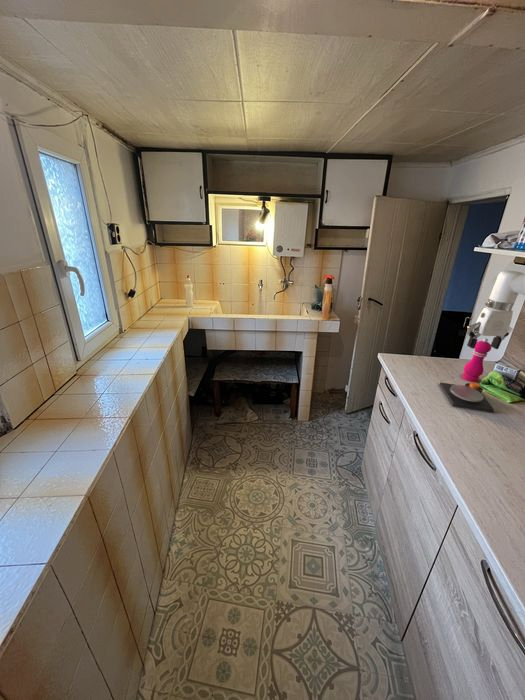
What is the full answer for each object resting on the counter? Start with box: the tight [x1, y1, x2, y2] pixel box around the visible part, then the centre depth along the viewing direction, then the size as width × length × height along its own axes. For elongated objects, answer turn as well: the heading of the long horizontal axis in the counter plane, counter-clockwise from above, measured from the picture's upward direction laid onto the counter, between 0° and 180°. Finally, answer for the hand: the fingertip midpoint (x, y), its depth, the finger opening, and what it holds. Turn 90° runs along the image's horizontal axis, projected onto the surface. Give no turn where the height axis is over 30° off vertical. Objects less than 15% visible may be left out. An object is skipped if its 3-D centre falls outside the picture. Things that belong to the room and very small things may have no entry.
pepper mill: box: [461, 337, 492, 383], centre depth 125 cm, size 7×7×20 cm
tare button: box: [469, 381, 481, 390], centre depth 116 cm, size 3×3×2 cm
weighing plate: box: [450, 384, 485, 402], centre depth 111 cm, size 11×11×1 cm
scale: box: [438, 382, 495, 414], centre depth 113 cm, size 15×16×3 cm
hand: (482, 347), depth 111 cm, fingers open, 9 cm apart
